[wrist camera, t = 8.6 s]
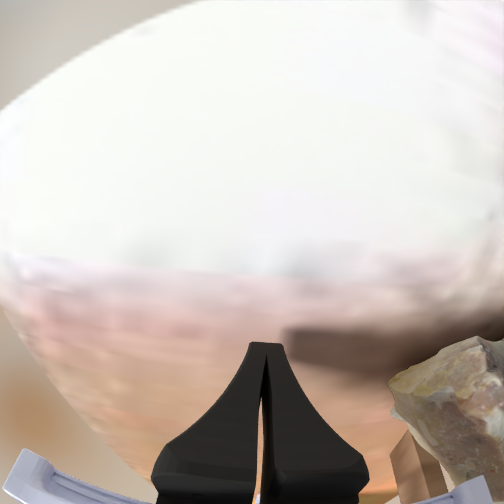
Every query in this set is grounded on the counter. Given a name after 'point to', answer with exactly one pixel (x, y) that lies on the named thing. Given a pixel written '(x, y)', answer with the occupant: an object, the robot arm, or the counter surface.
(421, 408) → the stone
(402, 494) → the door frame
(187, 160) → the counter surface
